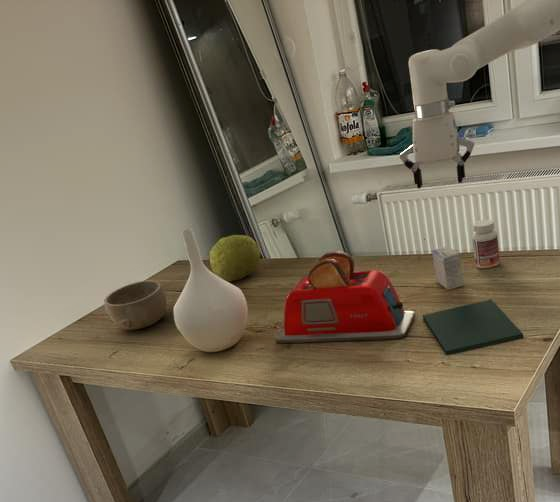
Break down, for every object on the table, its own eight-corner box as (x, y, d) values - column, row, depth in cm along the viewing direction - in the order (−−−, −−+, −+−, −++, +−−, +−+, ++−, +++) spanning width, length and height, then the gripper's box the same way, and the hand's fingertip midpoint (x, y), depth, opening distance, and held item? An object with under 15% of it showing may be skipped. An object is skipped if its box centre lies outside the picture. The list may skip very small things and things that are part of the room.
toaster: (416, 314, 161) (405, 238, 152) (404, 339, 151) (392, 259, 142) (292, 321, 174) (276, 251, 166) (274, 344, 164) (255, 271, 156)
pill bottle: (504, 262, 176) (501, 220, 171) (486, 270, 175) (482, 228, 170) (488, 258, 182) (484, 217, 177) (470, 266, 180) (466, 224, 175)
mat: (491, 303, 157) (490, 299, 157) (523, 337, 139) (523, 333, 139) (423, 318, 158) (422, 315, 157) (446, 355, 140) (445, 351, 140)
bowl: (137, 340, 187) (125, 307, 183) (102, 332, 200) (90, 300, 195) (184, 313, 198) (173, 281, 193) (148, 307, 210) (137, 277, 205)
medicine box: (464, 286, 169) (460, 253, 165) (447, 291, 169) (443, 258, 165) (452, 276, 176) (448, 245, 172) (435, 281, 176) (431, 249, 172)
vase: (230, 362, 161) (195, 242, 147) (171, 359, 170) (132, 246, 157) (268, 327, 174) (239, 214, 161) (211, 326, 184) (179, 220, 170)
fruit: (232, 267, 226) (244, 225, 219) (262, 286, 218) (275, 243, 211) (196, 271, 214) (206, 226, 207) (225, 291, 207) (238, 245, 200)
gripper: (472, 99, 155) (479, 174, 162) (397, 113, 162) (407, 184, 169) (468, 106, 149) (475, 183, 156) (390, 119, 156) (401, 193, 163)
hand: (440, 184), depth 163 cm, fingers open, 9 cm apart
